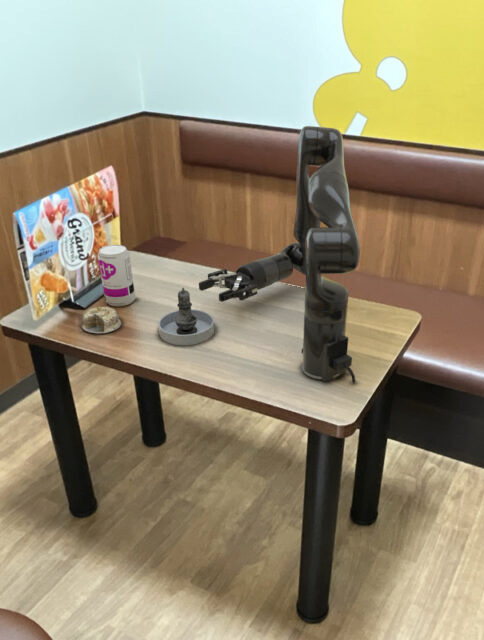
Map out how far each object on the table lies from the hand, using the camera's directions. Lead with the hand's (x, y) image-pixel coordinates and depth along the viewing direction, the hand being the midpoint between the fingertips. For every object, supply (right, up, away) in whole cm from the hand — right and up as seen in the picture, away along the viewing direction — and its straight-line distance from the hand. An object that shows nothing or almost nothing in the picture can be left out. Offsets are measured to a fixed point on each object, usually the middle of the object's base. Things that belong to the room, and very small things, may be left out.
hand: (209, 292), depth 153 cm
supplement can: (-26, 0, +15) cm, 30 cm away
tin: (-6, -10, 0) cm, 11 cm away
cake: (-28, -8, +3) cm, 30 cm away
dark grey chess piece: (-6, -10, 0) cm, 11 cm away
